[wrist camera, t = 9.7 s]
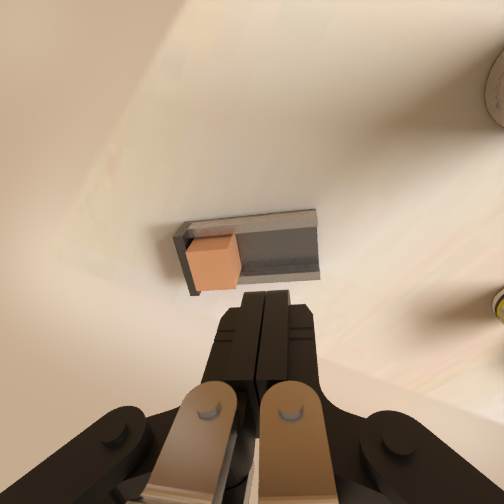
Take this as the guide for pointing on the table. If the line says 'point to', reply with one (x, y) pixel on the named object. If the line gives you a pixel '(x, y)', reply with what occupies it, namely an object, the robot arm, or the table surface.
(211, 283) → the block
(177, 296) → the table surface
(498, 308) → the pill bottle
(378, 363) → the table surface
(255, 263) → the chute
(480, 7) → the table surface
